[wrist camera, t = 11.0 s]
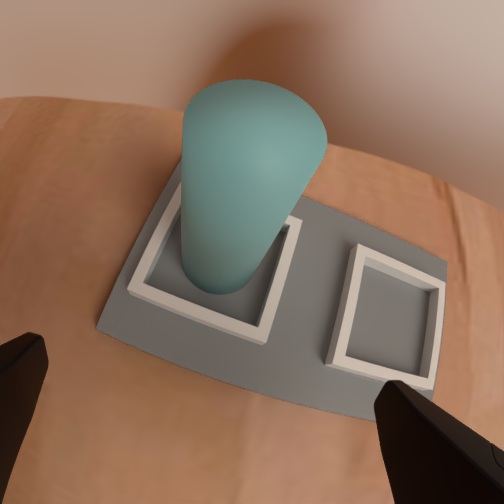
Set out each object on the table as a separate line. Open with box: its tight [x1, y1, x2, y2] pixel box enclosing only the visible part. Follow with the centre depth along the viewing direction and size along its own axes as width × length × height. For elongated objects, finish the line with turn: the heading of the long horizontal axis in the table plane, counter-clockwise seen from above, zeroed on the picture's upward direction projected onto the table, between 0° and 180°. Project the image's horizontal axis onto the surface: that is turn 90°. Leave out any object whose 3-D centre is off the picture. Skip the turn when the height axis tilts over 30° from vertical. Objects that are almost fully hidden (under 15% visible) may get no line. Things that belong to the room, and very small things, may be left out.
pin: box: [181, 79, 327, 295], centre depth 13 cm, size 4×4×10 cm
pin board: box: [96, 159, 447, 421], centre depth 17 cm, size 20×12×2 cm, turn 72°
